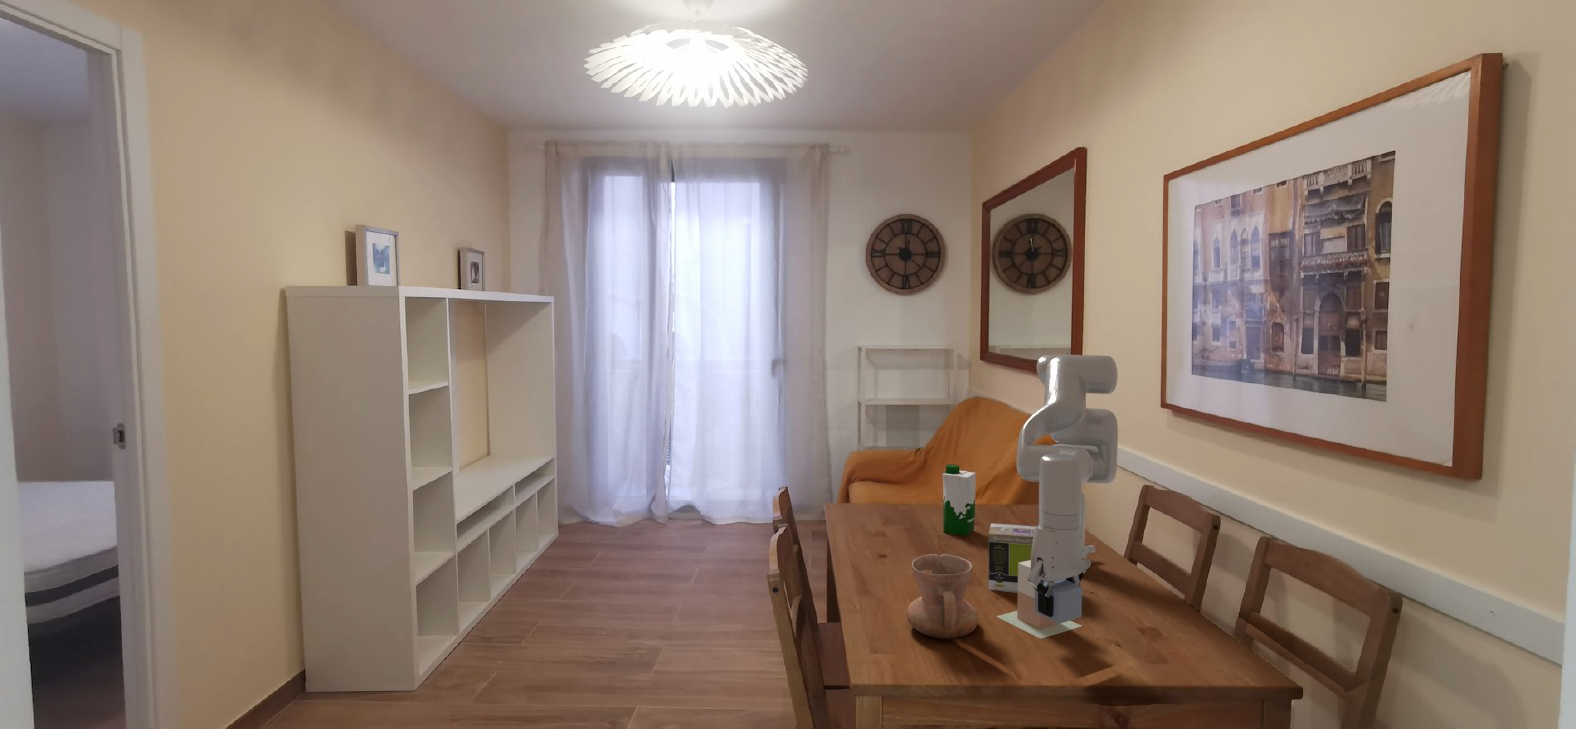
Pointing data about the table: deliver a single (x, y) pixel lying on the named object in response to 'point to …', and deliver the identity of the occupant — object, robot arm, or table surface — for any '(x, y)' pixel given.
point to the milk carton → (958, 501)
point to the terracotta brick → (1031, 613)
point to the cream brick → (1025, 579)
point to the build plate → (1034, 631)
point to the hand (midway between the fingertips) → (1057, 609)
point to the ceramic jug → (942, 597)
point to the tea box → (1008, 554)
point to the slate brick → (1064, 601)
